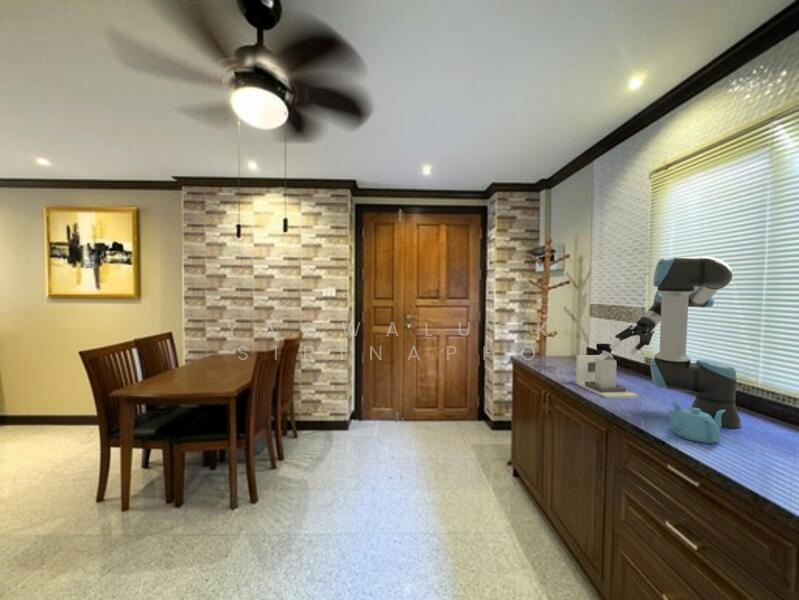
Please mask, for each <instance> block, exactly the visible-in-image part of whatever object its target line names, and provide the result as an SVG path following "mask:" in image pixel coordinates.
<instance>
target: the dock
mask: <svg viewBox="0 0 799 600" xmlns="http://www.w3.org/2000/svg"><path fill="white" fill-rule="evenodd" d="M597 356H599V354H596V355H595V354H591V355H590V354H588V355H587V354H585V355H583V354H582V355H580V354H579V355H577V354H576V356H575V358H576V359H575V360H576V361H575V363H576V365H575V385H576V384H577V385H579V386H581V387H580V388H582V387H583V388H582V389H584V388H585V390H586V389H587V391H588V390H589V391H588V392H591V391H592V392H591V393H593V392H594V394H595V393H596V394H595V395H597V394H598V395H597V396H600V395H601V396H600V397H602V396H603V397H602V398H604V397H605V399H606V398H614V399H638V397H639V395H638V394H635V393H633V392H631V391H627V387H625V386H622V385H619V384H617V383H616V387H611V388H602V387H600V386H597V385H595V361H596V357H597ZM577 385H576V386H577ZM579 386H578V387H579Z"/></svg>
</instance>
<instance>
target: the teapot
mask: <svg viewBox="0 0 799 600" xmlns="http://www.w3.org/2000/svg"><path fill="white" fill-rule="evenodd" d="M671 402H672V404H673V406H674V410H673V409H669V408H667V411H668V412H669V414H670V417H669V423H670V426H671V429H672V431H673V432H674V433H675V434H676V435H677V436H678V437H680V436H681V437H680V438H682V437H683V438H682V439H684V438H685V440H687V439H689V440H688V441H690V440H692V441H691V442H694V441H697V442H696V443H699V442H702V443H701V444H714V443H717V442H718V441H719V440H721V433H720V432H721V431H720V429H721V428H722V427H721V416H722V414H723V413H724V412H725V411H726V410H719V411H718V412H717V413H716V415H715V418H714V420H713V418H712V417H711V416H710V415H709V414H707V413H704V412H701V409H699V408H689V409H682V410H681V407H680V404H679V403H678V402H677V401H674V400H671ZM690 409H691V410H690Z"/></svg>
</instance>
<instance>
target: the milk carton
mask: <svg viewBox="0 0 799 600" xmlns="http://www.w3.org/2000/svg"><path fill="white" fill-rule="evenodd" d="M598 355H599V354H598ZM616 384H617V360H616V359H614V356H613V354H612V353H611V354H609V352H606V351H603V353H601V354H600V355H599V356H597V357H596V361H595V385H597V386H600V387H602V388H611V387H616Z"/></svg>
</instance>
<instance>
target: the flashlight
mask: <svg viewBox="0 0 799 600" xmlns="http://www.w3.org/2000/svg"><path fill="white" fill-rule="evenodd" d="M611 344H612V343H603V342H602V343H596V345H595V346H596V348H595V349H596V351H597V355H600V354H601V353H603V351H606V352H609V354H611V355H612V351H613V350H612V349H611V348H610V346H611Z"/></svg>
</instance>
